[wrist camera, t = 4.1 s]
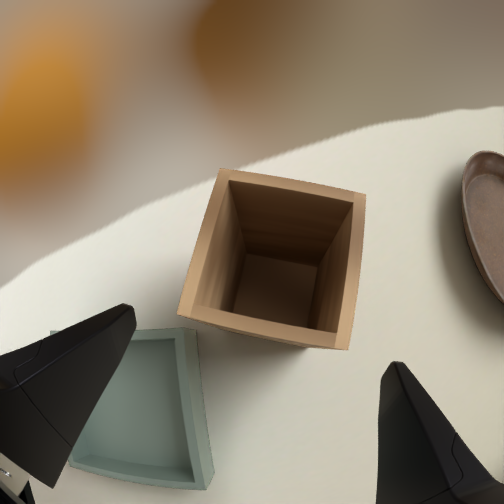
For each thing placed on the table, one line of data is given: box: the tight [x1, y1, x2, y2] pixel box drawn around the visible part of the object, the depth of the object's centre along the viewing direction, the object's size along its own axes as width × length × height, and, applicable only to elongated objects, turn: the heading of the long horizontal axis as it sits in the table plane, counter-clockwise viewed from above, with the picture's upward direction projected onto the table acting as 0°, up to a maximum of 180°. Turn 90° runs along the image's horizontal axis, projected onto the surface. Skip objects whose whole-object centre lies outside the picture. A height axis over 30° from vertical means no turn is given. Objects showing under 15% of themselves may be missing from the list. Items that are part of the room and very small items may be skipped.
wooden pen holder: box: [177, 168, 366, 350], centre depth 15 cm, size 6×6×10 cm
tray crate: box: [50, 328, 215, 490], centre depth 16 cm, size 11×11×3 cm
